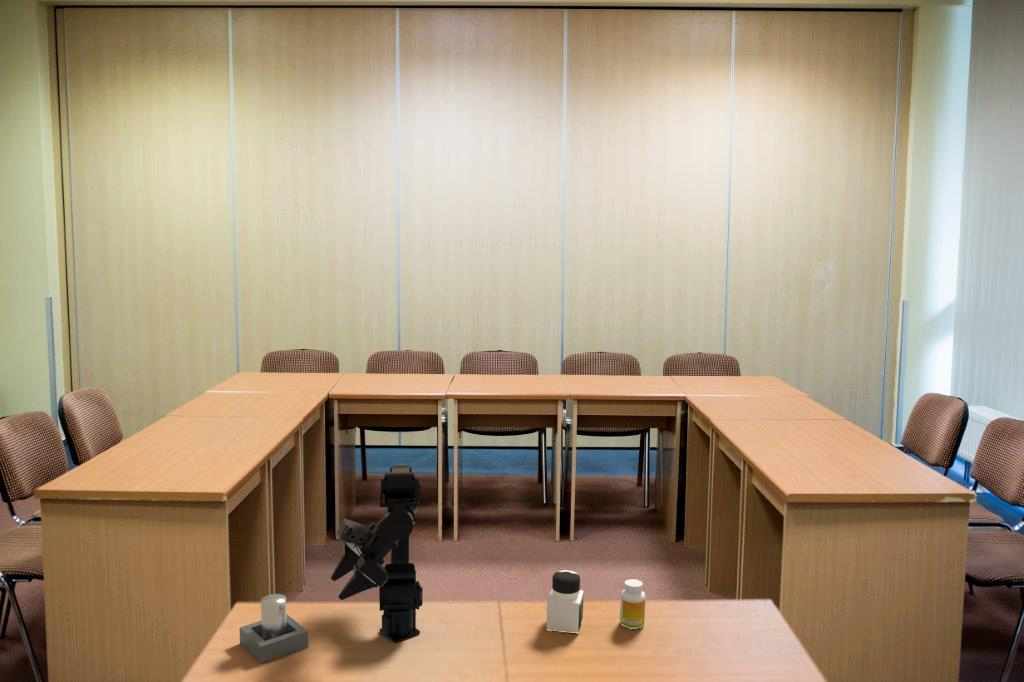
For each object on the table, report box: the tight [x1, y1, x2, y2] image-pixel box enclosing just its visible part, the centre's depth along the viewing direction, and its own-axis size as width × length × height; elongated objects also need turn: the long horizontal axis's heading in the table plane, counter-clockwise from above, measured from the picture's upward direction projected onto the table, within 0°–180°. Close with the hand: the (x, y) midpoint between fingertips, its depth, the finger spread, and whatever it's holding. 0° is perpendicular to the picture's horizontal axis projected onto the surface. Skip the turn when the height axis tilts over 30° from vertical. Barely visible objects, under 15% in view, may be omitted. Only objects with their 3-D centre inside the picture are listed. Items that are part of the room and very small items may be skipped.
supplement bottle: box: [619, 578, 646, 629], centre depth 183 cm, size 5×5×10 cm
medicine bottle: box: [546, 569, 585, 633], centre depth 181 cm, size 7×7×12 cm
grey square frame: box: [239, 613, 309, 664], centre depth 171 cm, size 10×10×4 cm
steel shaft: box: [260, 593, 288, 641], centre depth 171 cm, size 5×5×10 cm
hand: (335, 588), depth 167 cm, fingers open, 9 cm apart
